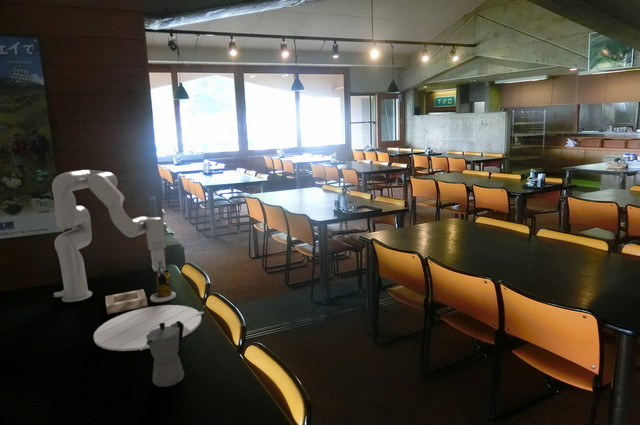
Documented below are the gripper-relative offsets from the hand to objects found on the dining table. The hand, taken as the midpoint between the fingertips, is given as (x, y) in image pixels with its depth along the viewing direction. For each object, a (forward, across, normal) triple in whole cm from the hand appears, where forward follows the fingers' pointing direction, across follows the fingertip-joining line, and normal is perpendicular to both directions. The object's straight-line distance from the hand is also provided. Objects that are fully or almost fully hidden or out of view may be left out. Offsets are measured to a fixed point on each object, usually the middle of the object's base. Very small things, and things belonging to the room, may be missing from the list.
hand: (161, 281), depth 206 cm
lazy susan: (+8, +31, -9) cm, 33 cm away
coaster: (+8, 0, 0) cm, 8 cm away
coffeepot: (+8, +74, -8) cm, 75 cm away
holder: (+8, 0, -16) cm, 17 cm away
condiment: (+7, 0, 0) cm, 7 cm away
